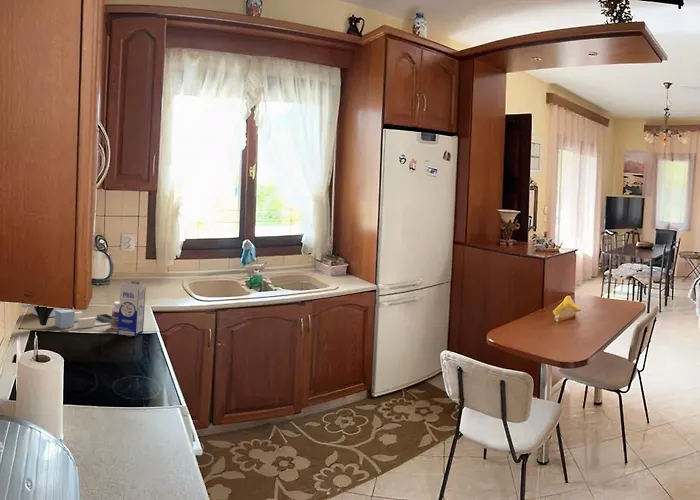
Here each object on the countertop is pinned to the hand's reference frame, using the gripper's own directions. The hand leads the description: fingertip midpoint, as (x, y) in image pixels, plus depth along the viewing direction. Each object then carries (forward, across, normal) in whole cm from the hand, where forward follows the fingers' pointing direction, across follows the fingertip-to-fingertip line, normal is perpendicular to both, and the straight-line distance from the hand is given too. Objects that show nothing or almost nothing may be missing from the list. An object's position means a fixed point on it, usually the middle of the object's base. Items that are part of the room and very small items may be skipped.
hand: (43, 324), depth 214 cm
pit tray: (+1, +25, 0) cm, 25 cm away
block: (+2, +8, 0) cm, 8 cm away
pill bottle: (+2, +24, -11) cm, 26 cm away
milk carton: (+2, +23, -21) cm, 31 cm away
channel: (+1, +17, 0) cm, 17 cm away
